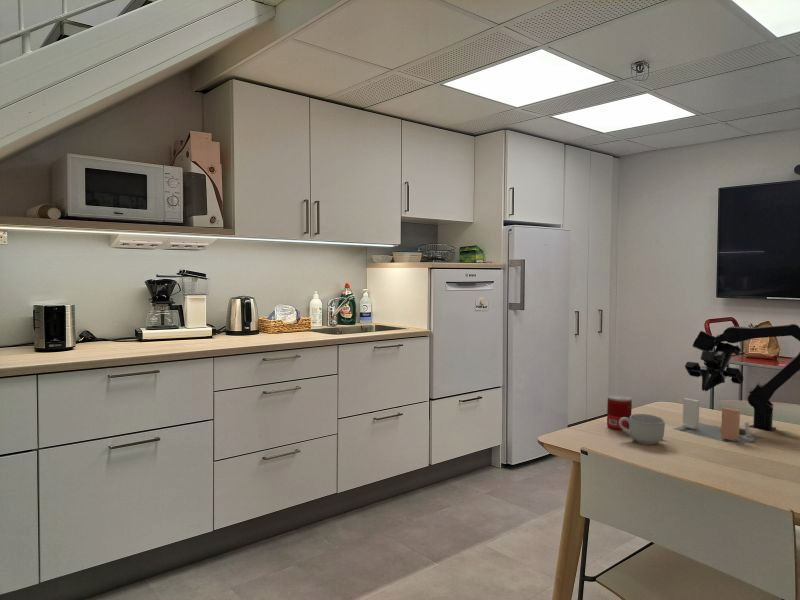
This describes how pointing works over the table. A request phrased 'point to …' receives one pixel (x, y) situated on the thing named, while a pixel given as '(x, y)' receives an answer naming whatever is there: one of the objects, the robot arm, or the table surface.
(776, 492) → the table surface
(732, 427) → the tan rectangular block
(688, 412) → the cream paddle
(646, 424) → the teacup
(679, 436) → the table surface
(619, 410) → the canned food
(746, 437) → the panel
